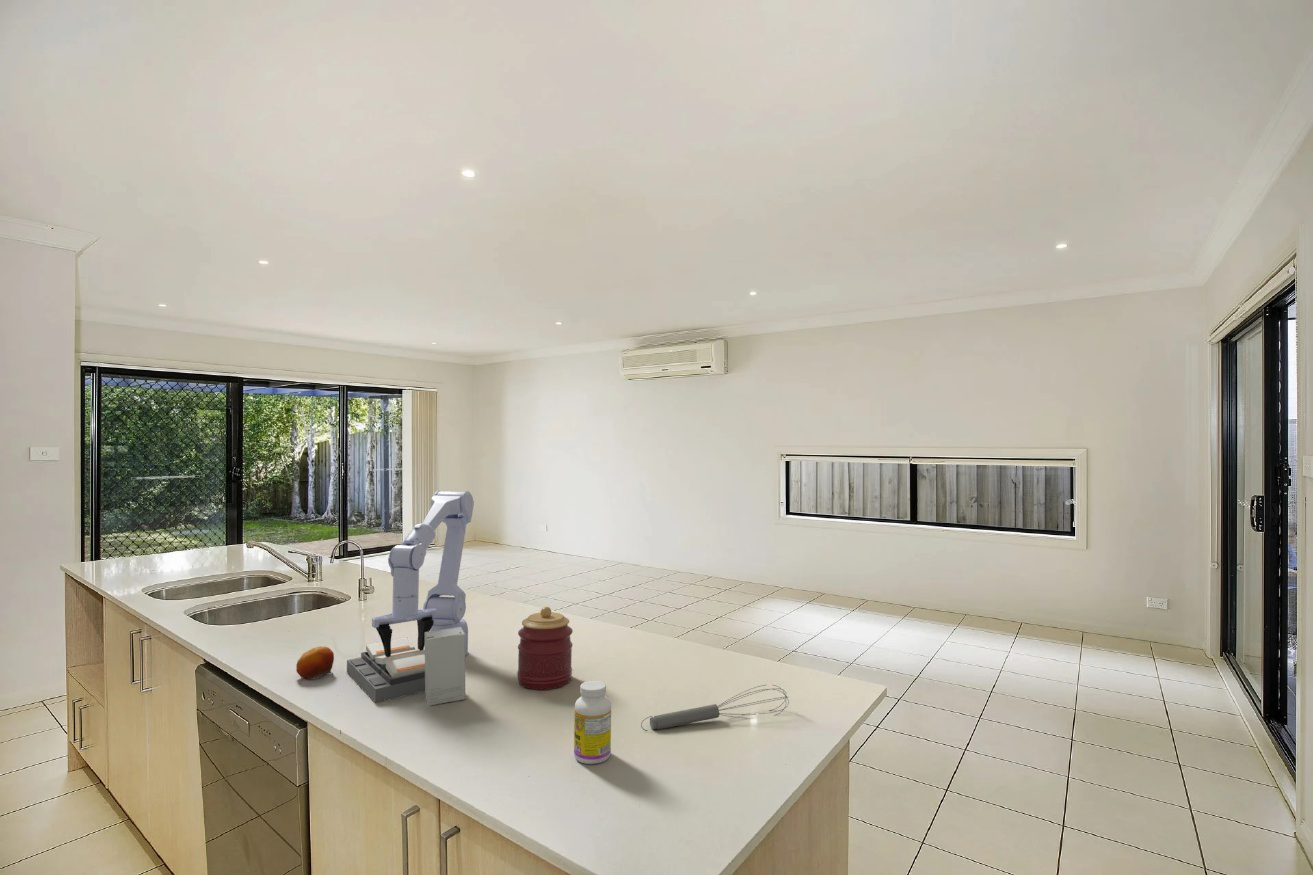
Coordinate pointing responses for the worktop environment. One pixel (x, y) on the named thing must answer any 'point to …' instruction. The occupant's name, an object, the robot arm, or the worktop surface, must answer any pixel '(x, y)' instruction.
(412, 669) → the panel
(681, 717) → the kitchen whisk
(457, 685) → the skincare box
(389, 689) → the rocker switch panel
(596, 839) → the worktop surface
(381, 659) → the rocker middle
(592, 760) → the supplement bottle
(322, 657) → the fruit
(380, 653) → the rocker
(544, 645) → the canister
